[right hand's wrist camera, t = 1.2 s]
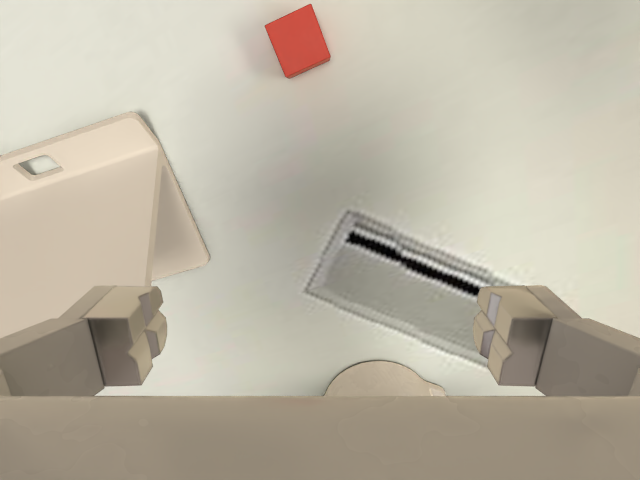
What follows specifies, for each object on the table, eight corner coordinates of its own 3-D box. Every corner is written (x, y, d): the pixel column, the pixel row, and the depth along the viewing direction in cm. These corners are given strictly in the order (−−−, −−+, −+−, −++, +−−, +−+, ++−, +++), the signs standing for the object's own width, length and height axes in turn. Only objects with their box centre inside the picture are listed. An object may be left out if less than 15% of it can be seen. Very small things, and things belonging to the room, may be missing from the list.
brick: (329, 60, 40) (330, 56, 36) (289, 78, 40) (285, 77, 36) (312, 12, 38) (310, 3, 34) (270, 32, 39) (264, 25, 35)
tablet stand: (212, 260, 47) (156, 347, 31) (28, 315, 50) (-110, 420, 34) (144, 107, 41) (32, 118, 25) (-61, 179, 44) (-280, 229, 28)
